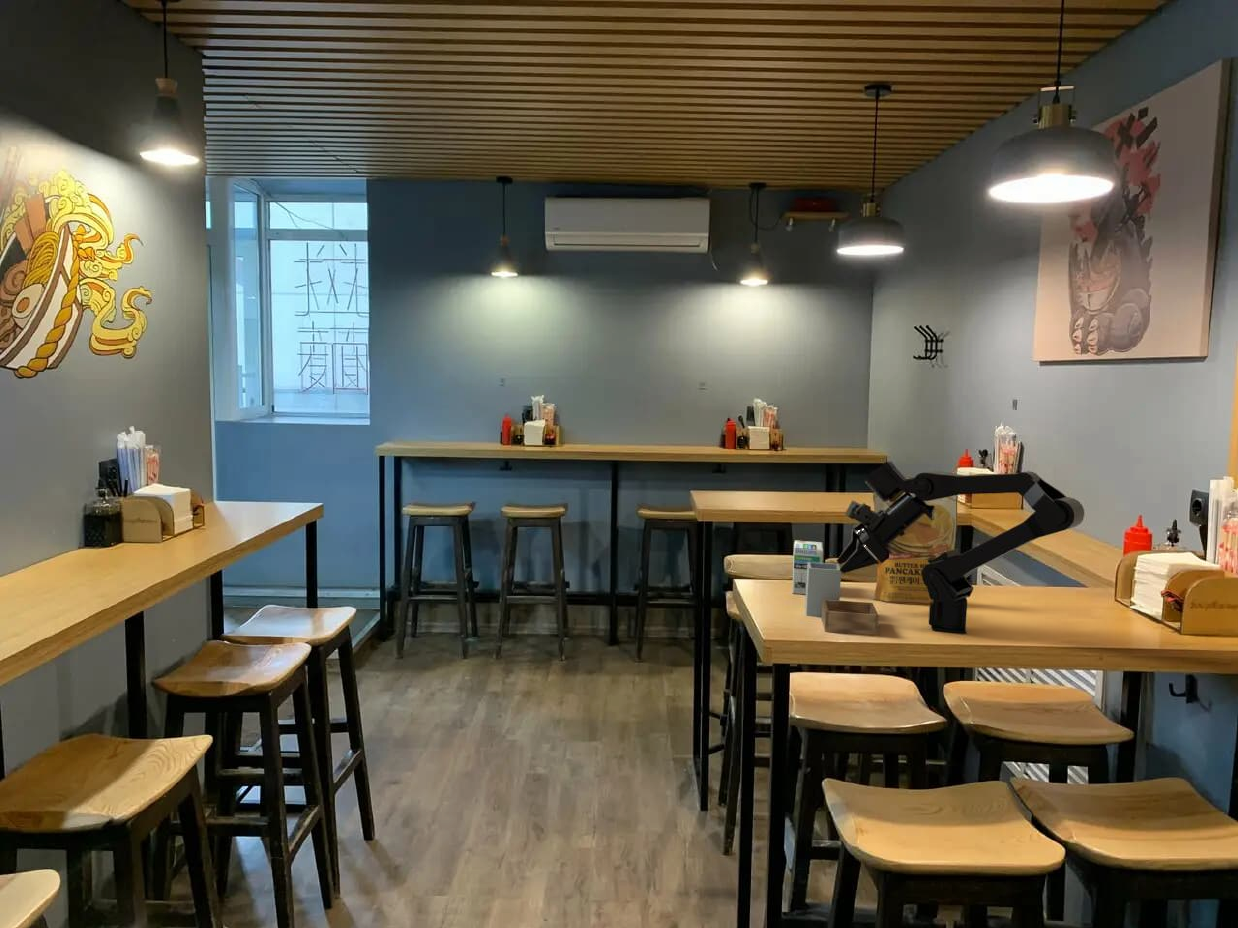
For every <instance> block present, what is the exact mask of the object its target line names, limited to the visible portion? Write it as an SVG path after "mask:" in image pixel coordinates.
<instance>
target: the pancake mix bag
mask: <svg viewBox="0 0 1238 928" xmlns="http://www.w3.org/2000/svg"><path fill="white" fill-rule="evenodd" d="M903 476H904V475H903ZM904 477H905V478H906V479H908V478H915V477H916V476H907V475H906V476H904ZM872 494H873V495H872V497H873V498H872V501H873V506H874V507H873V511H874V512H876V513H877V512H878V511H879V510H884V511H885V510H886V509H887V508H889V506H891V505H892V504H893V503H894V502H895V501H896V500H895V501H893V502H890V501H889V500H888V501H885V502H883V501H882V500H881V499H880V498H879V497H878V496H877V495H876V493H875V492H874V491H873V490H872ZM904 494H905V492H904V493H903V494H902V495H904ZM910 494H911V495H912V496H913V497H915V495H914V494H912V493H910ZM902 495H901V496H902ZM901 496H900V497H901ZM900 497H899V498H900ZM899 498H898V499H899ZM958 498H959V495H955V496H951V497H946V498H941V499H936V500H930V501H925V502H926V503H927V505H930V506H931V505H934V506H935V508H936V509H935V512H934V520H933V521H932V520H930V519H929V517H928V516H927V515H926V514H924V515H923V516H922V517H921V518H919V519H918V520H917V521H916V522H915V523H913V524H912V525H911V526H910V527H909V528H907V529H906V530H905V531H904V533H905V534H904V535H903V536H900V535H899V536H898V537H897V538H896V539H894V540H893V541H892V542H891V543H890V544H888V545H889V547H888V550H889V558H888V559H887V560H886V561H884V562H883V563H881V562H880V561H879V560H878V559H877V560H878V562H879V564H875V565H876V572H877V573H876V576H877V577H876V587H875V590H874V594H873V597H872V599H873V600H875V601H881V602H884V603H891V604H902V605H903V604H905V605H924V606H930V602H933V600H932V599H930V596H929V592H928V589H927V587H926V585H925V584H924V582H923V579H922V572H923V568H924V567H925V566H926V565H928V564H930V563H929V562H928V560H931V559H934V558H937V557H938V556H940V555H941V554H942V553H944V552H946V551H950V550H953V549H955V544H956V534H957V528H958V500H959V499H958ZM898 499H897V500H898ZM889 509H890V508H889ZM890 510H891V509H890ZM891 511H892V510H891Z"/></svg>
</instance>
